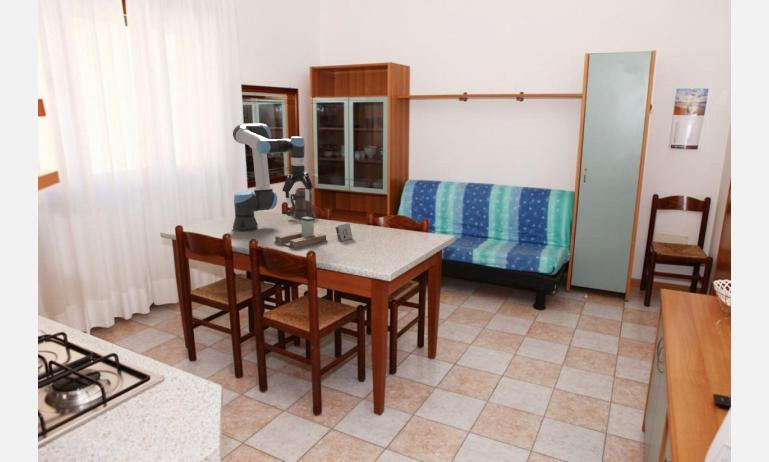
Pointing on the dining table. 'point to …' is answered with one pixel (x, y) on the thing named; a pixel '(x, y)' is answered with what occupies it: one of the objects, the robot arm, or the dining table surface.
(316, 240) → the brown wooden tray
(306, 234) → the fader tab
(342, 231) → the electrical switch
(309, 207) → the tankard
